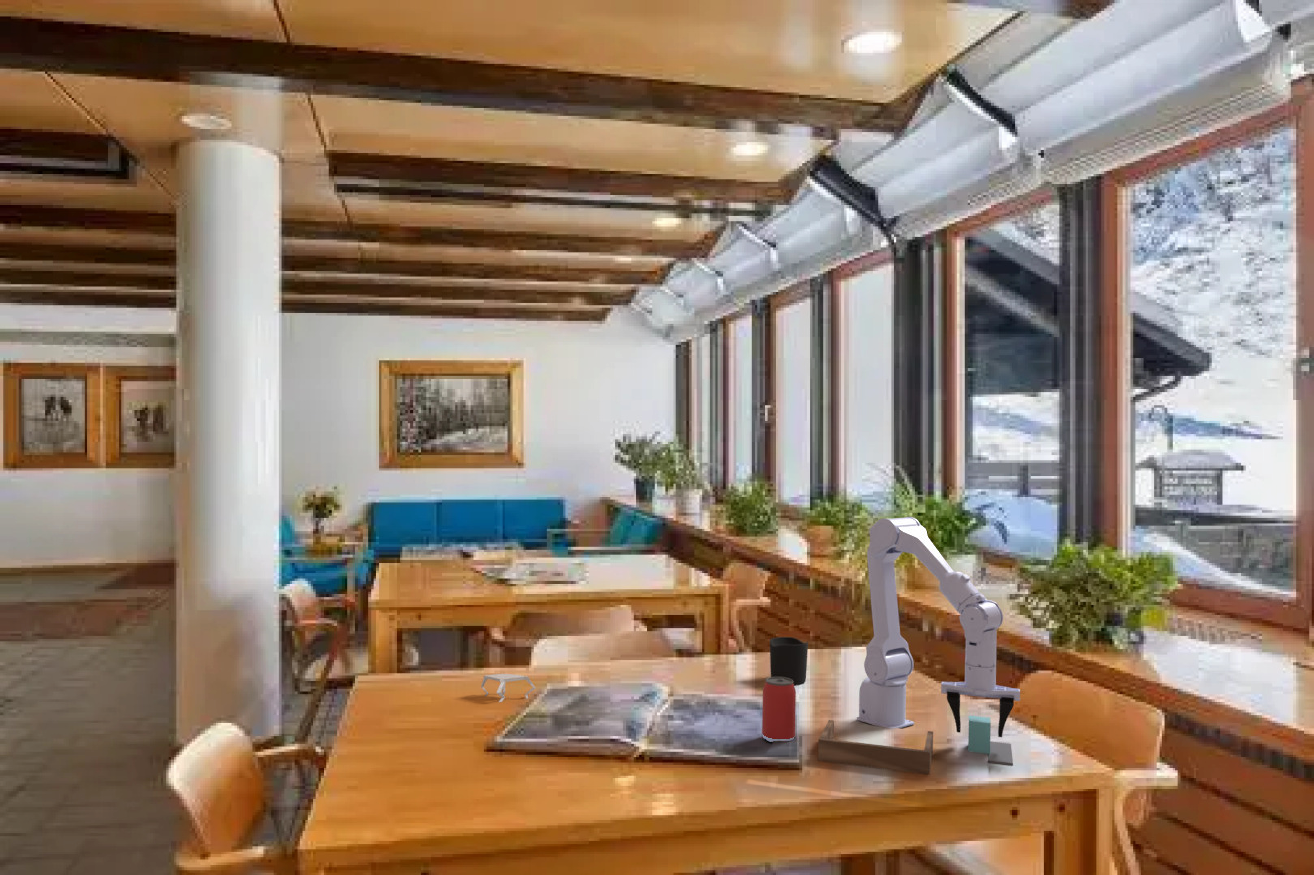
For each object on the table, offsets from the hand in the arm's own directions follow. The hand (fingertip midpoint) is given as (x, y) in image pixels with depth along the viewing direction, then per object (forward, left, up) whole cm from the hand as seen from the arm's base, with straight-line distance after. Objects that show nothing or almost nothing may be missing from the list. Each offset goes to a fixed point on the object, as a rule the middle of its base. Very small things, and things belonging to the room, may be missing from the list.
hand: (979, 733), depth 186 cm
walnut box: (-9, -20, -3) cm, 22 cm away
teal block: (0, 0, -3) cm, 3 cm away
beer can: (-28, -27, -4) cm, 39 cm away
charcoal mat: (0, 0, -3) cm, 3 cm away
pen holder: (-59, +8, -4) cm, 60 cm away
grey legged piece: (-86, -56, -4) cm, 102 cm away
